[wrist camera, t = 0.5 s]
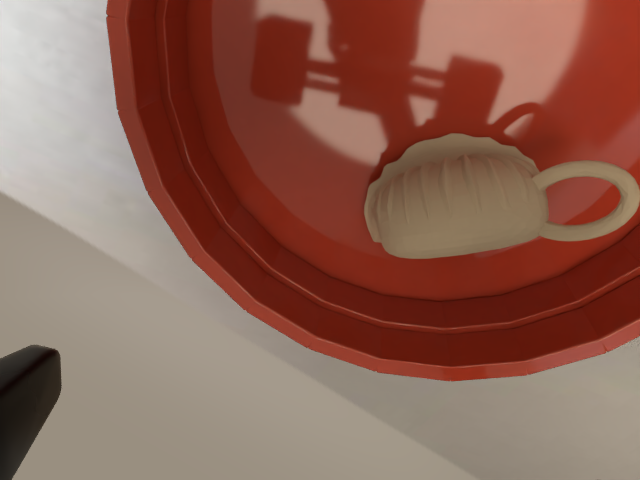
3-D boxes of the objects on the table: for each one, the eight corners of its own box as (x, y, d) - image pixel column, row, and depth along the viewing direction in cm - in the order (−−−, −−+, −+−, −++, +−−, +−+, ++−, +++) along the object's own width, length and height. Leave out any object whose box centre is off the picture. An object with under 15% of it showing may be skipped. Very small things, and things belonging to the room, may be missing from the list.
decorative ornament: (355, 149, 20) (344, 199, 16) (581, 114, 19) (647, 157, 14) (370, 241, 22) (365, 311, 17) (579, 215, 20) (637, 285, 16)
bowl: (941, -25, 16) (1124, -30, 12) (478, 387, 25) (496, 463, 21) (385, -553, 13) (383, -798, 9) (84, 140, 22) (16, 174, 18)
